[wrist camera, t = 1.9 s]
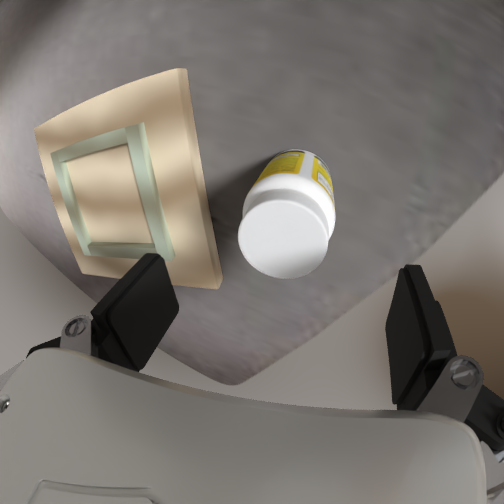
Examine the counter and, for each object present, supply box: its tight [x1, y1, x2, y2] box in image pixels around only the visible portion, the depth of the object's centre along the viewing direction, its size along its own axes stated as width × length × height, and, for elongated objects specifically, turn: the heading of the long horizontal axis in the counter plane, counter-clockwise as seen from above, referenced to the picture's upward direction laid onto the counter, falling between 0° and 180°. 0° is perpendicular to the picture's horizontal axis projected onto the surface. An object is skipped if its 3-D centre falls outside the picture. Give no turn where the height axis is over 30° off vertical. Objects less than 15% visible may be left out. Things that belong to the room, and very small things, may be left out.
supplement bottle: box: [238, 149, 335, 279], centre depth 15 cm, size 5×5×8 cm
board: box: [34, 68, 223, 289], centre depth 22 cm, size 18×18×2 cm
